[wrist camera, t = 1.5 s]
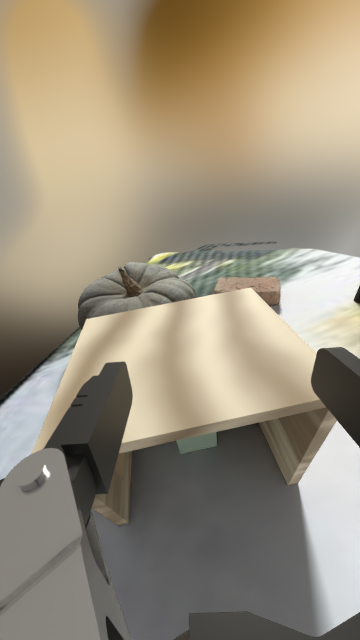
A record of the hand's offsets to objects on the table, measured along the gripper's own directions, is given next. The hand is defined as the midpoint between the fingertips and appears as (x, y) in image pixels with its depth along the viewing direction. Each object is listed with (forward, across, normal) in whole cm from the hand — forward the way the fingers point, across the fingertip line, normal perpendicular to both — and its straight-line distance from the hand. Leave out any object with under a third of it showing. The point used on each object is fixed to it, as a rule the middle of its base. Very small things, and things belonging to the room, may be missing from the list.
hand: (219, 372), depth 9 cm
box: (+12, +1, +21) cm, 24 cm away
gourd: (+36, +10, +17) cm, 41 cm away
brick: (+47, -16, +13) cm, 51 cm away
